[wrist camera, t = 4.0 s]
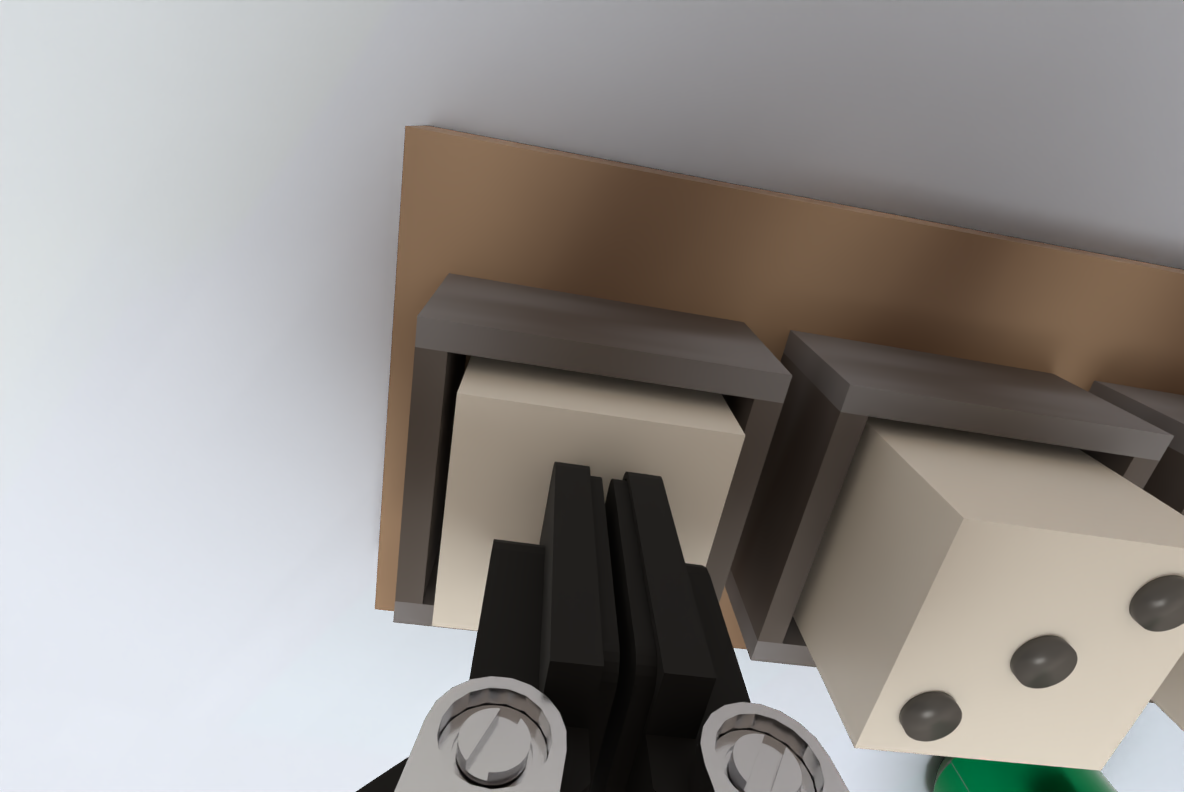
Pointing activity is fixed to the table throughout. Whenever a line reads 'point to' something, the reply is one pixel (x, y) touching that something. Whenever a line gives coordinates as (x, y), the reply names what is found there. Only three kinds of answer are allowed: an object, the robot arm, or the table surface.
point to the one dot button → (577, 436)
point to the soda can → (1015, 777)
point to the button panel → (755, 343)
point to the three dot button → (992, 598)
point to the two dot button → (1172, 694)
